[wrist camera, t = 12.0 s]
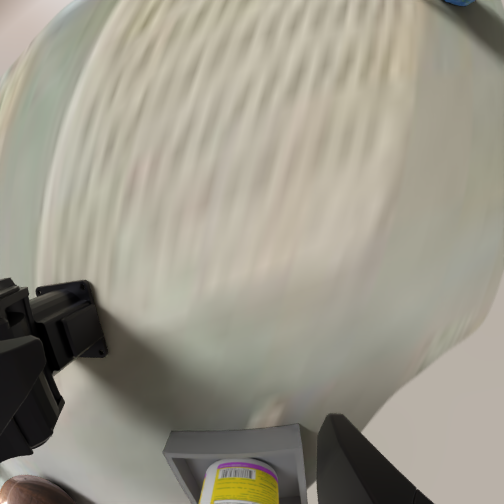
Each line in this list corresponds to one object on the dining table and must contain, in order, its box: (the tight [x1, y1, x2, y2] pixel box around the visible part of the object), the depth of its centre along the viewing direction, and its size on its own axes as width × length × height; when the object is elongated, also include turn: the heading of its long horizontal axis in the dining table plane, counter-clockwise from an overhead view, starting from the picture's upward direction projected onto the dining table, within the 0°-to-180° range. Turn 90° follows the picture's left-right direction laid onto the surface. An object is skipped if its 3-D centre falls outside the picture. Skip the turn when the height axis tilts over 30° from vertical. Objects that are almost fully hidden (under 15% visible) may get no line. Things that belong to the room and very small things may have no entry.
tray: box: [162, 424, 308, 504], centre depth 20 cm, size 11×11×3 cm
